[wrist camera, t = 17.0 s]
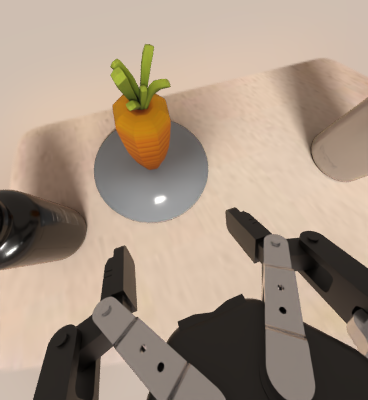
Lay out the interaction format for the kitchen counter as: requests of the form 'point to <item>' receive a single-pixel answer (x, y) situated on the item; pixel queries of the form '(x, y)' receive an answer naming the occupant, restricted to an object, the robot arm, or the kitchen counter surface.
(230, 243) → the kitchen counter surface
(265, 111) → the kitchen counter surface
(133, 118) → the carrot
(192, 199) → the slate plate
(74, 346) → the robot arm
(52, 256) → the supplement bottle
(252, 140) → the kitchen counter surface
